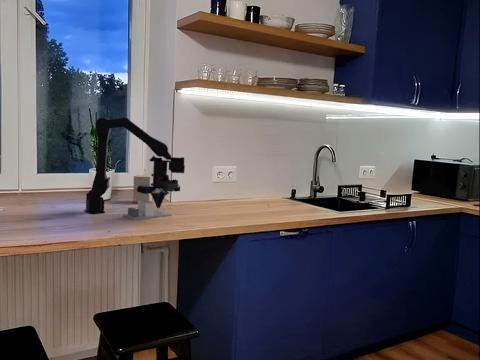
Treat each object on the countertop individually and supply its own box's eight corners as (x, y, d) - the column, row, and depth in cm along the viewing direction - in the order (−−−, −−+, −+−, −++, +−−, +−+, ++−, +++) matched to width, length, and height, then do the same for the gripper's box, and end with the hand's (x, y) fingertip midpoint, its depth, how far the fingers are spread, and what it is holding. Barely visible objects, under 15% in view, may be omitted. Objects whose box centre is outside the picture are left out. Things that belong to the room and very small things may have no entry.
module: (145, 216, 181) (146, 202, 180) (137, 213, 185) (138, 200, 185) (153, 215, 184) (154, 202, 183) (145, 212, 188) (146, 199, 187)
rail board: (134, 220, 176) (135, 211, 176) (123, 215, 182) (123, 207, 182) (171, 215, 189) (171, 207, 188) (159, 211, 195) (159, 203, 195)
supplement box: (152, 202, 215) (153, 175, 213) (149, 203, 210) (150, 176, 209) (135, 200, 216) (136, 174, 214) (132, 202, 211) (133, 175, 209)
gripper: (152, 175, 175) (150, 213, 177) (189, 173, 188) (187, 209, 190) (137, 171, 182) (135, 208, 184) (173, 170, 196) (171, 204, 198)
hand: (158, 208), depth 189 cm, fingers closed
